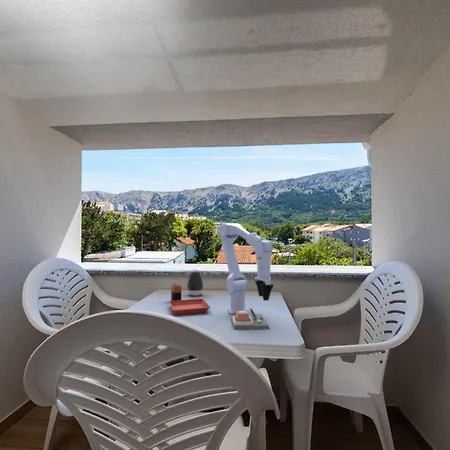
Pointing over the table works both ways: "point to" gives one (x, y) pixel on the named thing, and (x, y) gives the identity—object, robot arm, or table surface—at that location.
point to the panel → (250, 322)
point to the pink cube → (241, 316)
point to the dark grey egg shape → (195, 283)
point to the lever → (252, 312)
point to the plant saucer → (189, 306)
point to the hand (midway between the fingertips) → (263, 298)
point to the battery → (175, 292)
